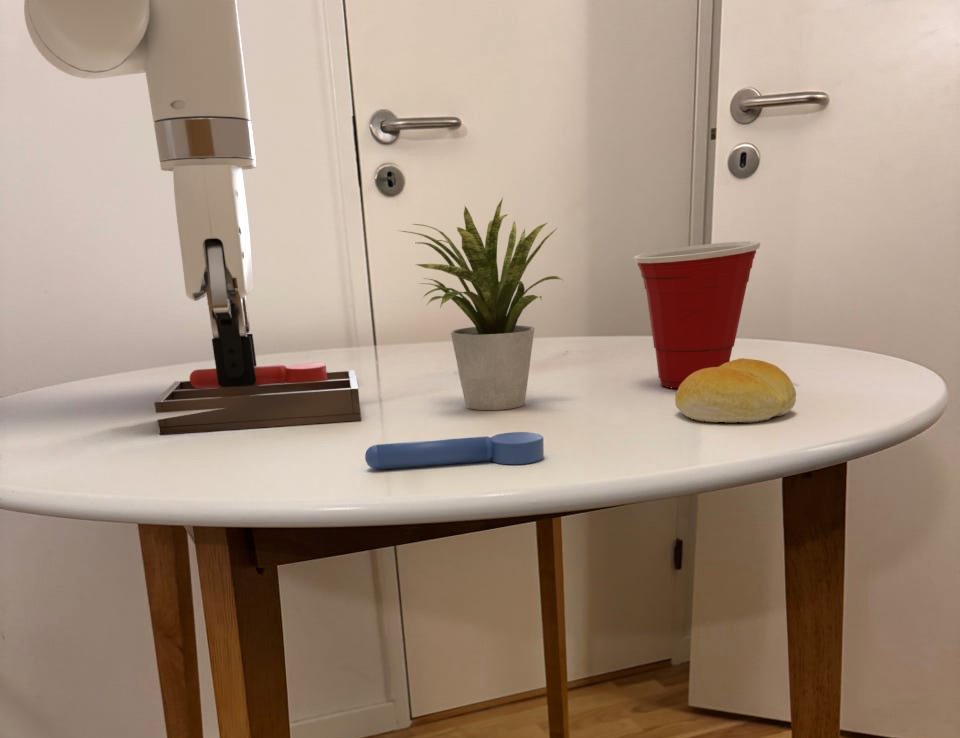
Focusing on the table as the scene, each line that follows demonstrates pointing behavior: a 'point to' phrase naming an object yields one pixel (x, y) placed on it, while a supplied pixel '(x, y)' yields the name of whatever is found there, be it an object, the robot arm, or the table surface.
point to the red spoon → (266, 374)
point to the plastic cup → (695, 304)
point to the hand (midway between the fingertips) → (238, 382)
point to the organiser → (260, 404)
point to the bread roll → (736, 392)
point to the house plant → (490, 314)
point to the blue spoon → (458, 451)
